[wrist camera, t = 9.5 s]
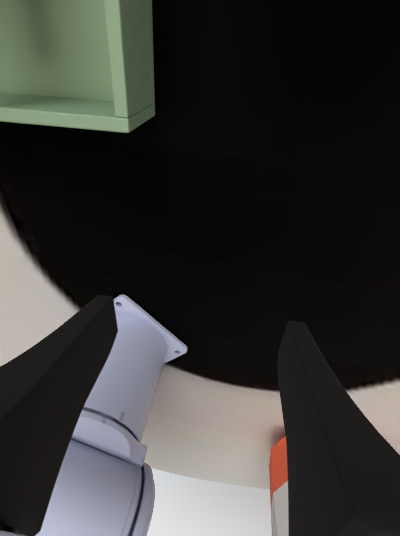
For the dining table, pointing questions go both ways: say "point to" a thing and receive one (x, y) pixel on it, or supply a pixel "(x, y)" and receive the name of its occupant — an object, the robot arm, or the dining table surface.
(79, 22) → the drawer
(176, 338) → the robot arm
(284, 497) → the french fries container
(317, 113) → the dining table surface
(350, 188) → the dining table surface
